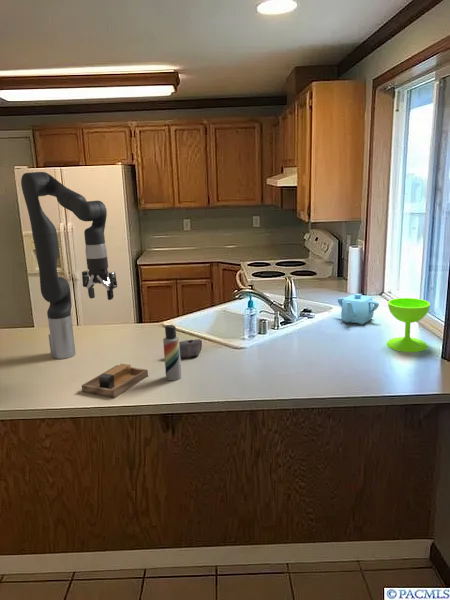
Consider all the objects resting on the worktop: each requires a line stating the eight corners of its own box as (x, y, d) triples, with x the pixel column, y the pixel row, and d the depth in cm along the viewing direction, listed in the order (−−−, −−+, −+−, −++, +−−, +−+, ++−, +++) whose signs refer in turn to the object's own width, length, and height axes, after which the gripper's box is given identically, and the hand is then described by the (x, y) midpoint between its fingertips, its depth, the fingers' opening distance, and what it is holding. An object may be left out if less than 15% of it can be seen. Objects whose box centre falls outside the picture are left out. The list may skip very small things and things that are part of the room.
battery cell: (100, 388, 179) (98, 376, 178) (123, 374, 191) (122, 362, 190) (109, 390, 177) (108, 378, 176) (132, 375, 189) (131, 364, 188)
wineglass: (384, 338, 219) (386, 297, 214) (424, 339, 215) (426, 298, 211) (388, 351, 204) (390, 307, 199) (431, 352, 200) (433, 308, 196)
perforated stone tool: (166, 360, 204) (164, 344, 203) (166, 356, 210) (164, 340, 208) (203, 357, 206) (202, 341, 204) (202, 353, 211) (201, 337, 209)
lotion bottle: (166, 375, 190) (162, 323, 185) (181, 374, 190) (178, 322, 185) (165, 381, 184) (161, 328, 179) (181, 380, 185) (178, 327, 180)
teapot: (335, 317, 252) (335, 291, 249) (368, 315, 253) (369, 289, 250) (346, 328, 235) (346, 300, 231) (381, 326, 235) (382, 298, 232)
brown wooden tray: (82, 391, 178) (81, 385, 178) (117, 371, 196) (116, 365, 195) (114, 397, 172) (114, 391, 172) (148, 376, 190) (147, 369, 189)
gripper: (118, 255, 188) (122, 297, 192) (88, 253, 194) (92, 295, 198) (105, 258, 182) (110, 302, 186) (74, 257, 188) (79, 299, 192)
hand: (101, 298), depth 192 cm, fingers open, 8 cm apart
